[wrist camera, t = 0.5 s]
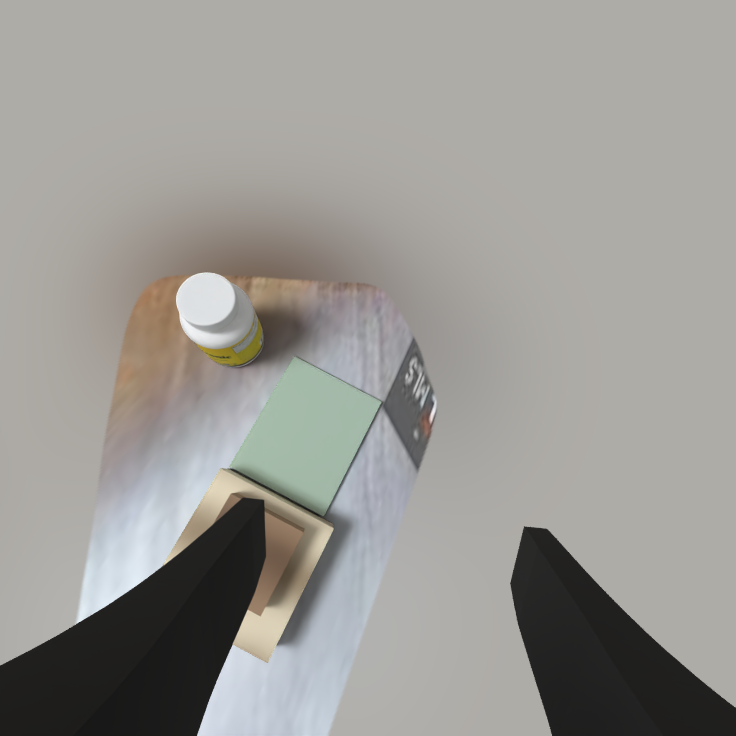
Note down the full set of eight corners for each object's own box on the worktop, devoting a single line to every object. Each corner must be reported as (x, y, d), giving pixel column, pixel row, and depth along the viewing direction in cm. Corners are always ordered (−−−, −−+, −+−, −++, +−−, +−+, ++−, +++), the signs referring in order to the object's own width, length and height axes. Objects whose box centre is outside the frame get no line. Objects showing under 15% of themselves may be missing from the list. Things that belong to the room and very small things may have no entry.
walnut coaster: (264, 607, 30) (260, 616, 28) (192, 568, 30) (183, 575, 28) (304, 528, 32) (303, 532, 30) (236, 492, 32) (230, 493, 30)
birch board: (272, 646, 32) (267, 663, 29) (160, 585, 32) (144, 596, 29) (333, 523, 35) (333, 528, 32) (228, 468, 35) (220, 468, 32)
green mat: (323, 516, 35) (323, 516, 34) (230, 466, 35) (229, 466, 35) (381, 402, 38) (381, 401, 37) (294, 357, 38) (294, 356, 38)
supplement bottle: (191, 344, 37) (147, 300, 28) (233, 302, 39) (204, 247, 29) (237, 381, 37) (207, 350, 27) (277, 337, 38) (262, 293, 29)
